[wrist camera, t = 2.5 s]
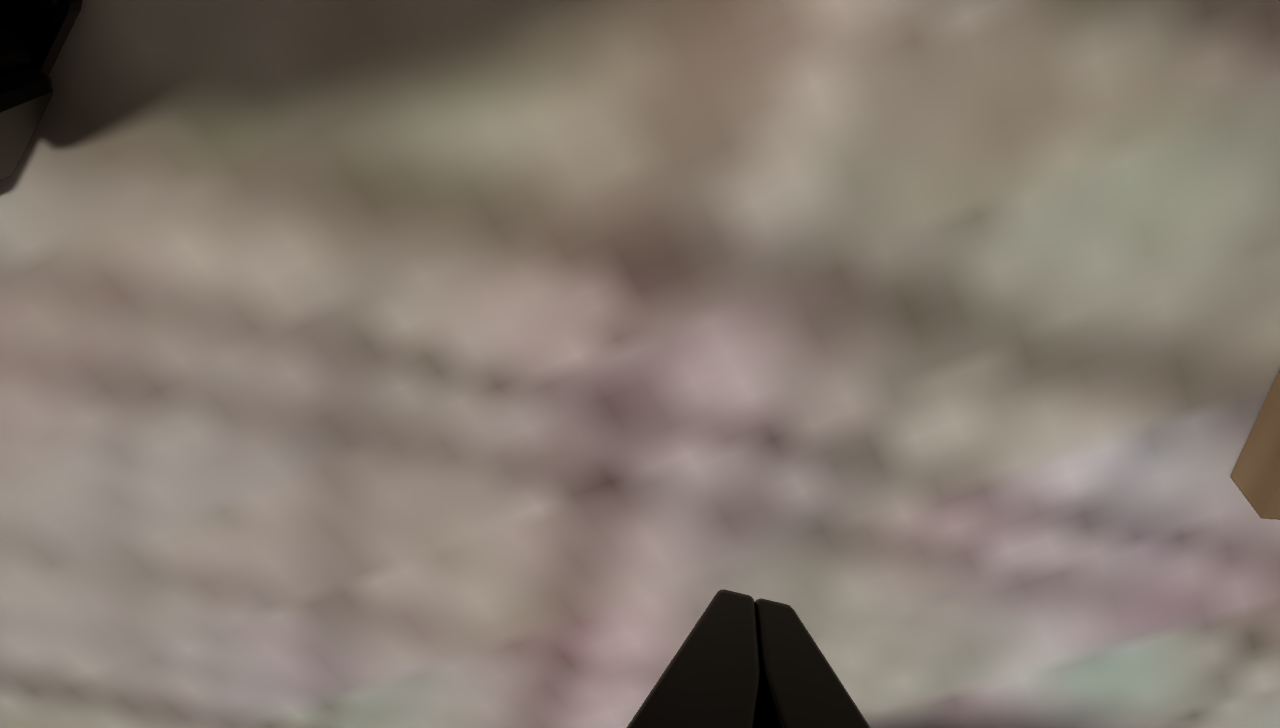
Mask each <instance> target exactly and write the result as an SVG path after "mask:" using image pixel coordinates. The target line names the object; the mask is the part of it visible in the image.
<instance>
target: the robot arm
mask: <svg viewBox="0 0 1280 728" xmlns="http://www.w3.org/2000/svg"><path fill="white" fill-rule="evenodd" d="M81 5H82V0H57V4H56V3H54V2H52V1H51V0H0V180H1V179H3V178H5V177H7V176H9V175H11V174H12V173H13V172H14V170H15V168H16V166H17V164H18V162H19V160H20V158H21V156H22V154H23V153H24V151H25V149H26V147H27V145H28V143H29V141H30V139H31V137H32V135H33V133H34V131H35V129H36V127H37V125H38V123H39V121H40V119H41V117H42V115H43V113H44V111H45V109H46V107H47V105H48V103H49V101H50V99H51V97H52V95H53V89H52V82H51V79H50V77H48V74H49V72H50V70H51V68H52V66H53V64H54V62H55V60H56V58H57V56H58V54H59V52H60V50H61V48H62V46H63V44H64V42H65V40H66V38H67V36H68V34H69V32H70V30H71V28H72V26H73V24H74V22H75V20H76V18H77V16H78V13H79V11H80V9H81ZM627 728H870V726H869V725H868V723H867V722H866V720H865V719H864V717H863V715H862V714H861V712H860V711H859V709H858V708H857V706H856V705H855V703H854V702H853V700H852V699H851V697H850V695H849V694H848V692H847V691H846V689H845V688H844V686H843V685H842V683H841V682H840V680H839V679H838V677H837V675H836V674H835V672H834V671H833V669H832V668H831V666H830V665H829V663H828V662H827V660H826V659H825V657H824V655H823V654H822V652H821V651H820V649H819V648H818V646H817V645H816V643H815V642H814V640H813V639H812V637H811V635H810V634H809V632H808V631H807V629H806V628H805V626H804V625H803V623H802V622H801V620H800V619H799V617H798V615H797V614H796V612H795V611H794V610H793V609H792V608H791V607H790V606H789V605H787V604H782V603H778V602H774V601H770V600H766V599H758V600H756V601H755V602H754V599H753V598H752V597H751V596H749V595H745V594H741V593H736V592H732V591H728V590H720V591H718V592H717V594H716V595H715V597H714V598H713V600H712V601H711V603H710V604H709V606H708V607H707V609H706V610H705V612H704V613H703V615H702V616H701V618H700V619H699V621H698V622H697V624H696V625H695V627H694V628H693V630H692V631H691V633H690V634H689V635H688V637H687V638H686V640H685V641H684V643H683V644H682V646H681V647H680V649H679V650H678V652H677V653H676V655H675V656H674V658H673V659H672V661H671V662H670V664H669V665H668V667H667V668H666V670H665V671H664V673H663V674H662V676H661V677H660V679H659V680H658V682H657V683H656V685H655V686H654V688H653V689H652V691H651V692H650V694H649V695H648V697H647V698H646V700H645V701H644V703H643V704H642V706H641V707H640V709H639V710H638V712H637V713H636V715H635V716H634V718H633V719H632V721H631V722H630V724H629V725H628V727H627Z"/></svg>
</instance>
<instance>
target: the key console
mask: <svg viewBox="0 0 1280 728" xmlns="http://www.w3.org/2000/svg"><path fill="white" fill-rule="evenodd" d="M1230 478H1231V479H1232V480H1233V482H1234V483H1235V484H1236V486H1237V487H1238V488H1239V490H1240V491H1241V492H1242V494H1243V495H1244V496H1245V498H1246V499H1247V500H1248V502H1249V503H1250V504H1251V506H1252V507H1253V508H1254V510H1255V511H1256V512H1257V514H1258V515H1259V516H1260V518H1264V519H1278V520H1280V370H1279V372H1278V375H1277V377H1276V379H1275V381H1274V383H1273V385H1272V387H1271V390H1270V392H1269V394H1268V396H1267V398H1266V400H1265V402H1264V405H1263V407H1262V409H1261V411H1260V413H1259V415H1258V418H1257V420H1256V422H1255V424H1254V426H1253V428H1252V430H1251V433H1250V435H1249V437H1248V439H1247V441H1246V443H1245V445H1244V448H1243V450H1242V452H1241V454H1240V456H1239V458H1238V461H1237V463H1236V465H1235V467H1234V469H1233V471H1232V473H1231V476H1230Z"/></svg>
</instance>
